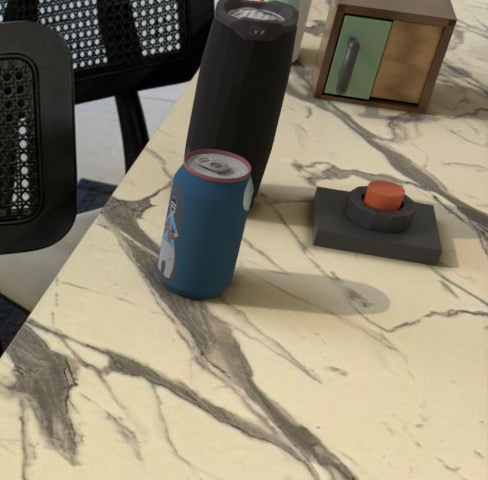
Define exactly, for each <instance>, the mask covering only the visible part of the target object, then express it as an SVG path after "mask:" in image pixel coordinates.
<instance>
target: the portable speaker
mask: <svg viewBox="0 0 488 480" xmlns="http://www.w3.org/2000/svg"><path fill="white" fill-rule="evenodd" d="M298 18H299V11H298V10H297V9H296V8H295V7H294V6H293V5H290V4H287V3H284V2H280V1H271V2H263V1H252V0H218V1H217V2H216V5H215V9H214V18H213V19H212V22H211V25H210V28H209V32H208V36H207V39H206V43H205V47H204V50H203V54H202V57H201V61H200V65H199V71H198V76H197V81H196V86H195V91H194V98H193V102H192V106H191V107H192V108H191V113H190V118H189V124H188V130H187V133H186V141H185V147H184V154H183V159H184V158H185V156H186V155H187V154H189V153H190V152H193V151H196V150H203V149H213V150H221V151H226V152H230V153H233V154H236V155H238V156H241V157H242V158H244V159H245V160H246V161H248V163H249V164H250V166H251V173H250V175H251V179H252V182H253V187H254V191H253V195H252V199H251V203H250V207H249V211H250V210H251V209H252V208H253V206H254V202H255V198H256V197H257V196H258V193H259V190H260V187H261V183H262V181H263V177H264V175H265V172H266V169H267V167H268V166H267V165H268V163H269V159H270V157H271V153H272V150H273V147H274V142H275V138H276V133H277V130H278V127H279V126H278V125H279V121H280V118H281V117H280V116H281V113H282V108H283V104H284V100H285V95H286V91H287V87H288V83H289V78H290V75H291V69H292V64H293V63H292V57H293V51H294V45H295V38H296V32H297V26H296V25H297V22H298ZM183 163H184V161H183ZM183 163H182V164H183Z"/></svg>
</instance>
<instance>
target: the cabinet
mask: <svg viewBox="0 0 488 480" xmlns="http://www.w3.org/2000/svg"><path fill="white" fill-rule="evenodd" d="M345 15H352V16H359V17H366V18H373V19H380V20H388V21H392V25H391V28H390V32H389V35H388V38H387V41H386V45H385V48H384V51H383V54H382V58H381V61H380V64H379V68H378V71H377V74H376V77H375V81H374V84H373V87H372V91H371V94H370V97H369V99H363V98H356V97H349V96H343V95H336V94H330V93H324V90H325V87H326V83H327V79H328V76H329V72H330V68H331V65H332V61H333V57H334V54H335V50H336V46H337V43H338V39H339V35H340V32H341V28H342V24H343V21H344V17H345ZM457 22H458V18H457V15H456V12H455V9H454V6H453V3H452V0H331V1H330V4H329V9H328V13H327V16H326V20H325V24H324V28H323V32H322V35H321V40H320V43H319V47H318V50H317V54H316V58H315V61H314V66H313V69H312V98H313V99H318V100H325V101H326V100H327V101H332V102H337V103H338V102H339V103H345V104H352V105H359V106H364V107H371V108H377V109H385V110H390V111H391V110H392V111H397V112H405V113H411V114H418V115H424V116H425V115H426V112H427V109H428V106H429V104H430V100H431V97H432V94H433V92H434V89H435V86H436V84H437V80H438V77H439V74H440V71H441V69H442V65H443V63H444V59H445V57H446V53H447V51H448V48H449V45H450V42H451V39H452V37H453V33H454V31H455V28H456V26H457V25H456V24H457Z"/></svg>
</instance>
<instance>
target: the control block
mask: <svg viewBox="0 0 488 480" xmlns="http://www.w3.org/2000/svg"><path fill="white" fill-rule="evenodd" d="M367 187H368V185H360V186H356V187H355V188H353V189H352V190H350V191H349V190H342V189H337V188H330V187H329V188H328V187H323V186H316V188H315V192H314V195H313V200H312V246H314V247H319V248H325V249H331V250H337V251H343V252H350V253H353V254H354V253H355V254H360V255H367V256H373V257H379V258H384V259H391V260H396V261H402V262H408V263H415V264H421V265H426V266H431V267H437V266H438V263H439V260H440V258H441V256H442V253H443V248H442V242H441V237H440V232H439V227H438V222H437V217H436V211H435V206H434V204H428V203H424V202H423V203H422V202H416V201H414V200H413V199H412V198H411V197H410V196H408V195H407V194H406V193H405V195H404V198H403V201H402V203H401V206H400V209H399V210H396V211H386V210H380V209H377V208H374V207H372V206H369V205H367V204H366V203H365V202H364V201H363V200H364V197H365V193H366V190H367Z"/></svg>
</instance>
